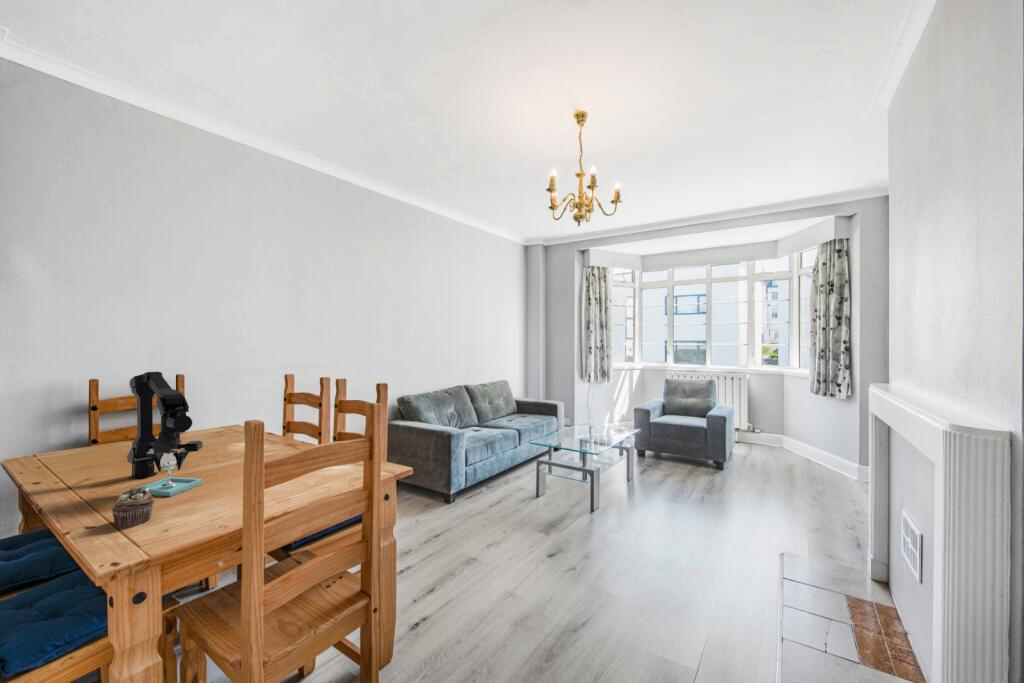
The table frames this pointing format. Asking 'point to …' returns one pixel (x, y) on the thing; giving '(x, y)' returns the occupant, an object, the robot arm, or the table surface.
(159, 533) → the table surface
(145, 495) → the cupcake
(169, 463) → the wineglass
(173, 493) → the tray
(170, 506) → the table surface
